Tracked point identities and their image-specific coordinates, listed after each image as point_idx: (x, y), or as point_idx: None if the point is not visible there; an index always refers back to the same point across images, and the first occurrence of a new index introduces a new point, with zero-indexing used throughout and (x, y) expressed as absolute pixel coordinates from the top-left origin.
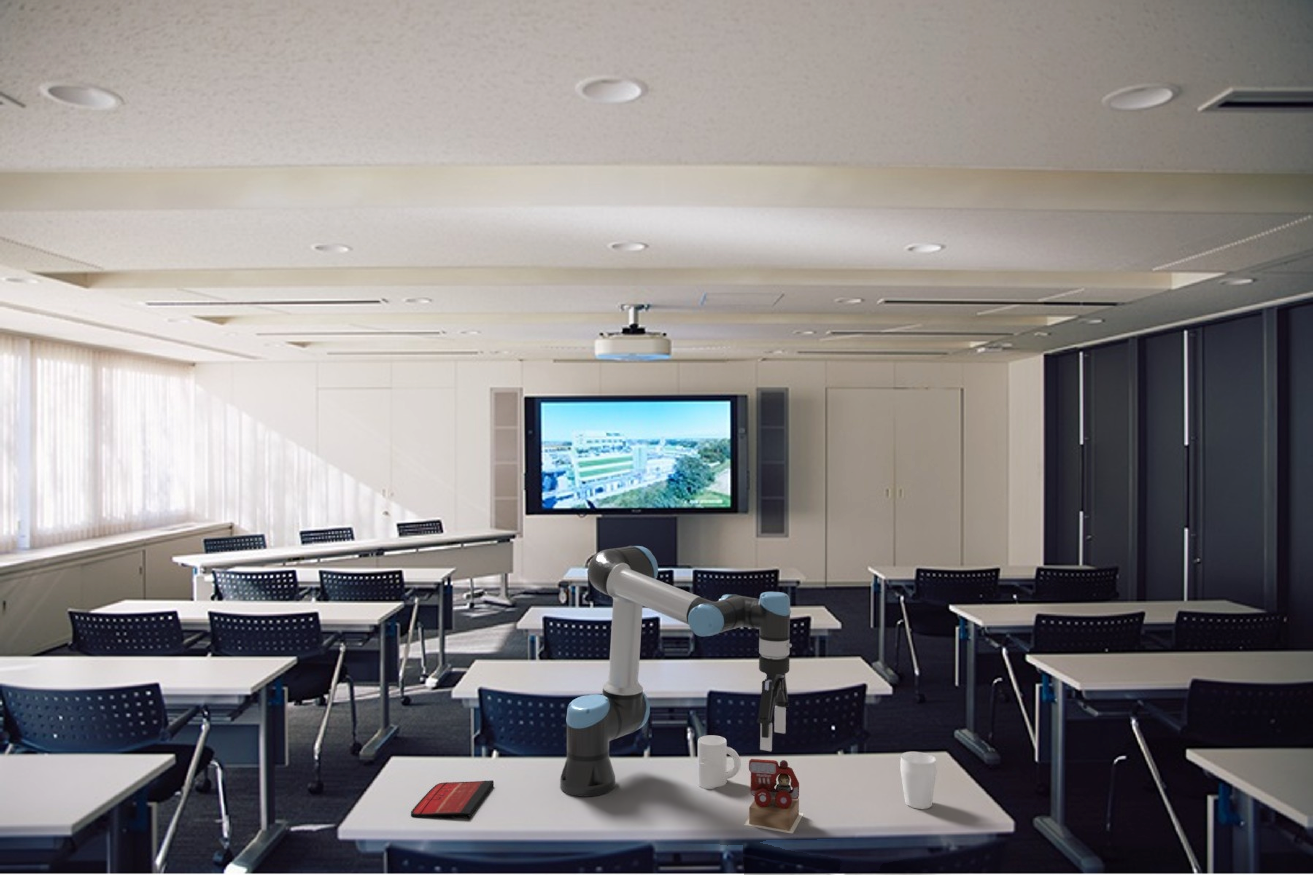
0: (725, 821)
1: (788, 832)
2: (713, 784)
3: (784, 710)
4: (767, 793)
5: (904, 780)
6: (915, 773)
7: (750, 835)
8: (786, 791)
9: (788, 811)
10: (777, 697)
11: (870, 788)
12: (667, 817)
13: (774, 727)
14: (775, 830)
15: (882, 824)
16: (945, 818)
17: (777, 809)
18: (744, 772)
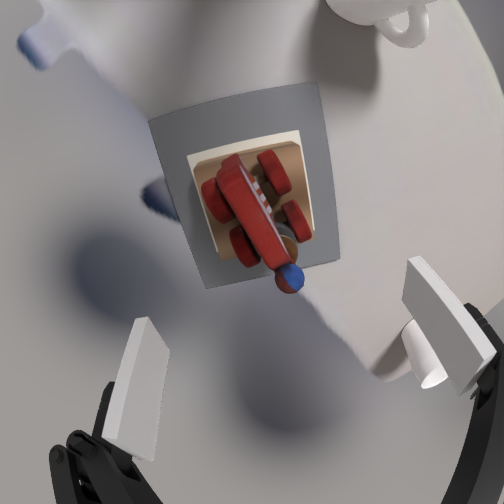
0: (187, 105)
1: (215, 244)
2: (333, 4)
3: (453, 383)
4: (218, 221)
5: (421, 345)
6: (416, 370)
7: (165, 185)
8: (251, 261)
9: (232, 253)
10: (476, 450)
11: (449, 266)
12: (131, 11)
13: (419, 272)
14: (206, 221)
15: (340, 327)
16: (382, 358)
17: (226, 230)
18: (437, 48)
